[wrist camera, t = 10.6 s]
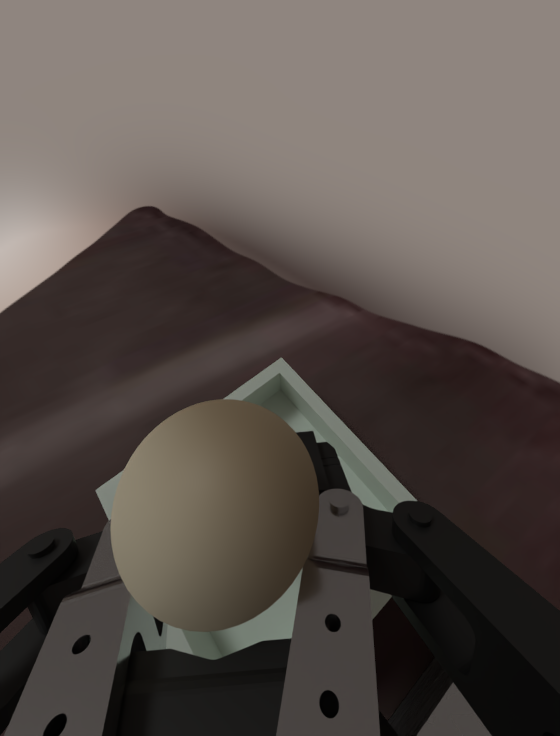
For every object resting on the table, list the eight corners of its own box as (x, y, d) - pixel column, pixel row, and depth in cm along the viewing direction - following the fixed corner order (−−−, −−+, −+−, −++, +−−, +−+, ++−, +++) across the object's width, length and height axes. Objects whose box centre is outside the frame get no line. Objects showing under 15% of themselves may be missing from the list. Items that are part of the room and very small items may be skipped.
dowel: (257, 569, 15) (176, 705, 4) (216, 504, 16) (79, 480, 6) (314, 515, 16) (363, 511, 5) (270, 458, 17) (240, 367, 7)
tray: (242, 729, 16) (230, 789, 13) (125, 494, 22) (95, 490, 19) (418, 528, 21) (446, 531, 17) (282, 378, 27) (281, 357, 23)
